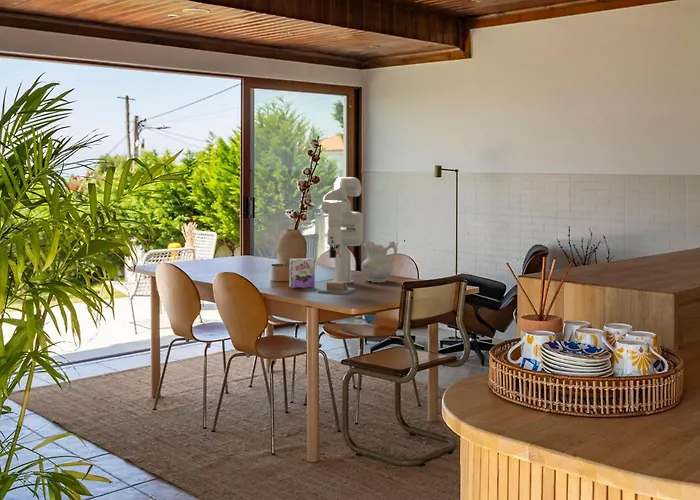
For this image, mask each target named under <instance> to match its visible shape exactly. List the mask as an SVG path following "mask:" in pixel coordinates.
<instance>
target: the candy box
mask: <svg viewBox="0 0 700 500" xmlns="http://www.w3.org/2000/svg"><path fill="white" fill-rule="evenodd" d="M315 263H316V261H315V259H314V258H311V257H310V258H289V268H288V270H289V271H288V272H289V274H288V277H289V278H288V279H289V281H288V282H289V283H288V286H289V288H290V289H307V288H308V289H311V288H312V289H313V288H315V282H316V281H315V277H316V276H315V273H316V271H315V270H316V269H315V267H316V266H315V265H316V264H315Z"/></svg>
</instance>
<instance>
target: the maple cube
mask: <svg viewBox="0 0 700 500" xmlns="http://www.w3.org/2000/svg"><path fill="white" fill-rule="evenodd" d="M335 250H336V258H341V248H335ZM328 258H329V259H332V258H331V257H330V248H328Z"/></svg>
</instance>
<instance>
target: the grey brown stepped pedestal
mask: <svg viewBox="0 0 700 500" xmlns="http://www.w3.org/2000/svg"><path fill="white" fill-rule="evenodd" d="M348 285H349V283H348V282H347V281H332V280H330V281H327V282H326V287H324V288H323V287H322V288H321V289H318V290H317V292H318V294H329V295H330V294H331V295H349V294H351V293H354V292H356V287H348Z"/></svg>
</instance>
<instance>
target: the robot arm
mask: <svg viewBox="0 0 700 500" xmlns="http://www.w3.org/2000/svg"><path fill="white" fill-rule="evenodd" d="M361 194H362V184H361V181H360V180H359V179H358V178H357V177H353V176H339V177H337V178H335V180H334V182H333V183H332V185H331V191H329V192H328V193H326V194H325V195H323V199H322V201H321V212H322V213H323V214H324V215H327V216H328V220H327V221H328V222H327V223H328V224H327V226H328V229H327V239H326V240H327V245H329V249H330V257H331V258H330V259H334V279H331V281H347V282H348V284H353V283H354V280H353V279H351V277H352V274H351V266H352V265H351V264H352V263H351V255H352V254H351V251H350V249H349V248H348V247H349V246H351V247H353V246H354V247H356V246H357V247H358V246H362V244H363V242H364V215H363V214H362V212H360V211H352V202H351V201H350V200H349V198H348V197H359V196H360V195H361ZM342 228H348V229H342ZM349 228H350V229H349ZM351 228H353V229H351ZM335 248H341V258H336V250H335Z"/></svg>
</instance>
